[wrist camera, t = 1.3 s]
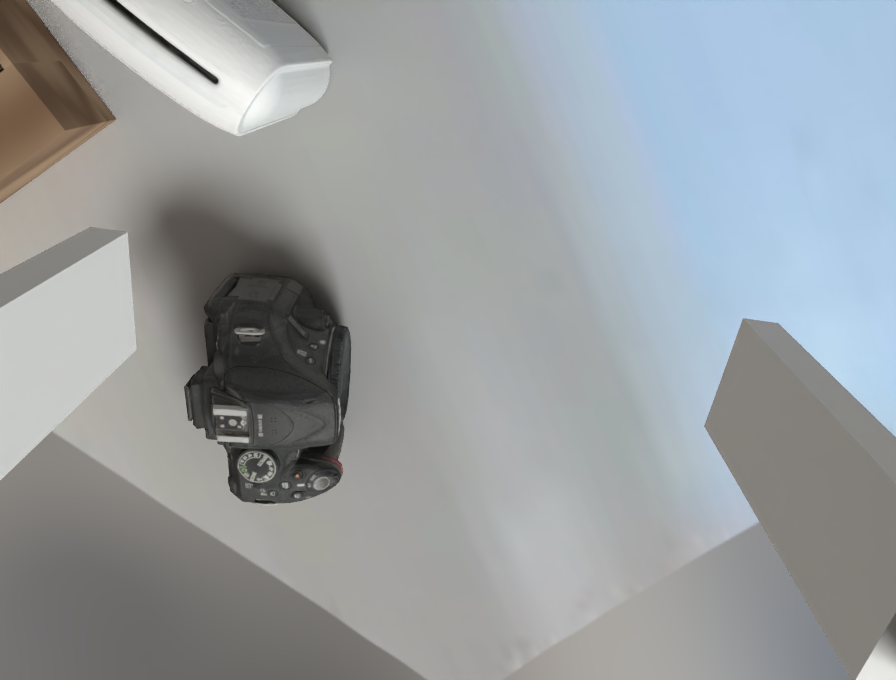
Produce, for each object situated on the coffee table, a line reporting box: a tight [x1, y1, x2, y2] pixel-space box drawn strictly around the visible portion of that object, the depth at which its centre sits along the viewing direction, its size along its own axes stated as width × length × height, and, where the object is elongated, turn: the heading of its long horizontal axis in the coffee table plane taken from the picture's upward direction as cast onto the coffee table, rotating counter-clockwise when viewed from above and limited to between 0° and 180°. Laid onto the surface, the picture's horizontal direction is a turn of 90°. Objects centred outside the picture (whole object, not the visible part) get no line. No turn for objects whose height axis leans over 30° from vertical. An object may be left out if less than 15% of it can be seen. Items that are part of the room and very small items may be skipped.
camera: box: [184, 273, 351, 506], centre depth 38 cm, size 13×10×10 cm
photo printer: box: [51, 0, 332, 136], centre depth 29 cm, size 10×4×12 cm, turn 51°
